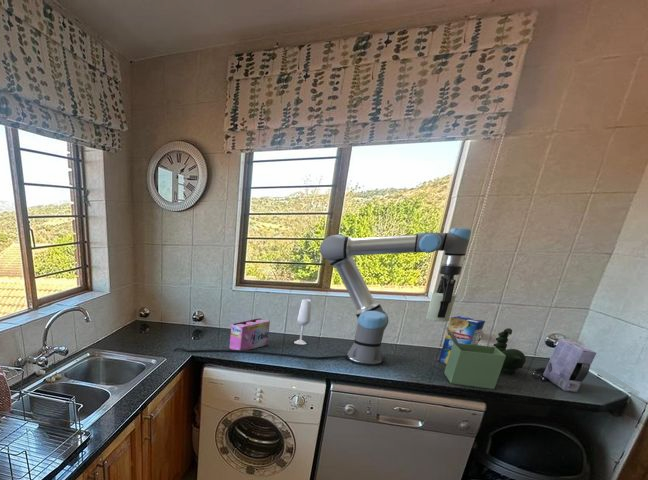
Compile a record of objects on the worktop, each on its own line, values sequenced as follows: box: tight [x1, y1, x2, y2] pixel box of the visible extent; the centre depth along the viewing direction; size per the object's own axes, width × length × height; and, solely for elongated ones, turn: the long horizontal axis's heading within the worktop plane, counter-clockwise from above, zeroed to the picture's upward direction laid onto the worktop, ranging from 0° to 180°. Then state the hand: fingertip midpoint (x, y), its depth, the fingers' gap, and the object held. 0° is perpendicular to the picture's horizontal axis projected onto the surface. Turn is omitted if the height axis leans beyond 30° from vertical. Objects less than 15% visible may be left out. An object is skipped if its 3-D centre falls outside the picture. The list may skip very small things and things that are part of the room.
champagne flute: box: [293, 298, 312, 345], centre depth 220 cm, size 7×7×24 cm
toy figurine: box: [492, 327, 527, 375], centre depth 184 cm, size 9×19×25 cm
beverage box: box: [438, 315, 486, 365], centre depth 190 cm, size 7×11×22 cm, turn 28°
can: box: [425, 292, 457, 323], centre depth 185 cm, size 9×9×12 cm
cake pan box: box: [542, 338, 597, 393], centre depth 167 cm, size 19×5×18 cm, turn 158°
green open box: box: [443, 343, 506, 390], centre depth 171 cm, size 15×13×14 cm
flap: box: [445, 326, 461, 349], centre depth 170 cm, size 7×13×1 cm
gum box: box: [229, 317, 271, 351], centre depth 215 cm, size 24×8×14 cm, turn 126°
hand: (438, 315), depth 186 cm, fingers closed on can, 9 cm apart
